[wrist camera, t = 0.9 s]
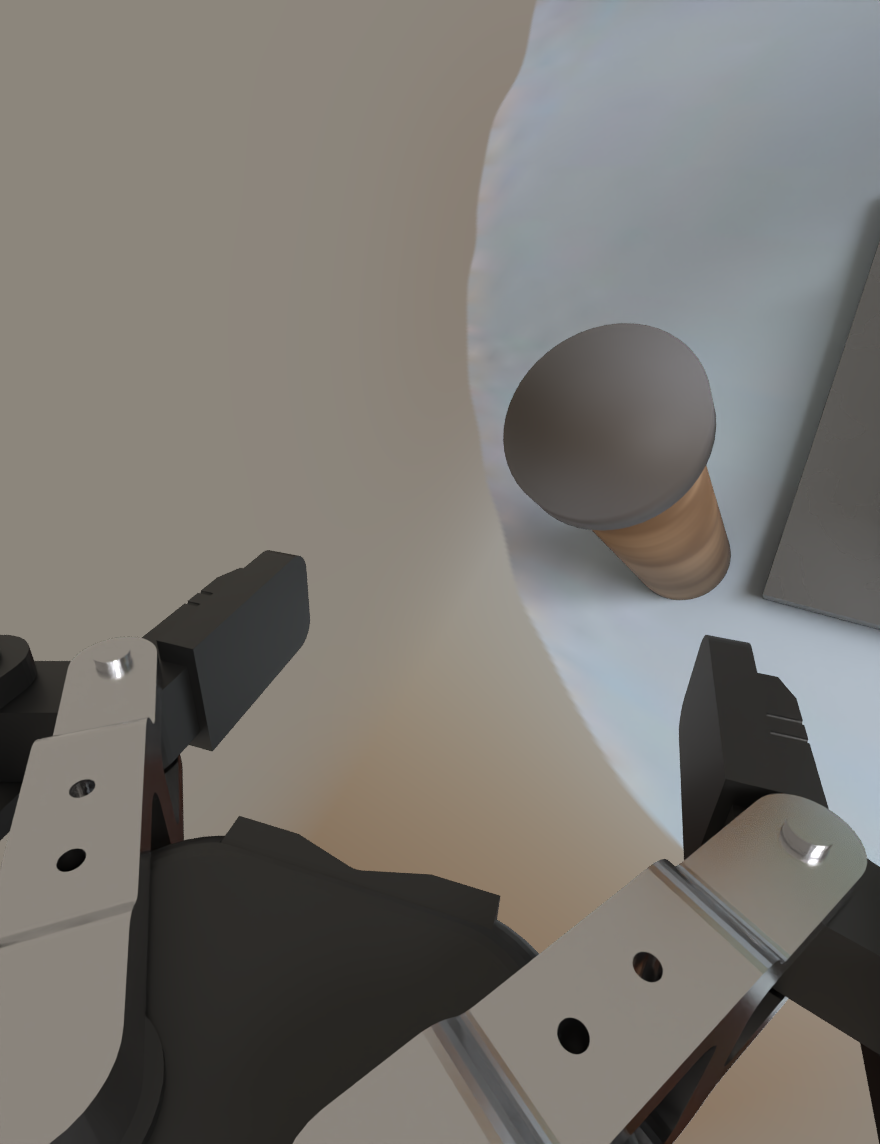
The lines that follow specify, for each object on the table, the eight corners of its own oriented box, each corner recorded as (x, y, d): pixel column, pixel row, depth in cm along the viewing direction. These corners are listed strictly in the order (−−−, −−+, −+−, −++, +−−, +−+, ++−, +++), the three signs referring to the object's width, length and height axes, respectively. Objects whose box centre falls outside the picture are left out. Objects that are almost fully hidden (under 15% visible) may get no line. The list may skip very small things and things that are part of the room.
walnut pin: (643, 490, 32) (540, 317, 19) (760, 514, 29) (741, 330, 16) (608, 593, 32) (477, 494, 18) (723, 627, 29) (670, 540, 15)
